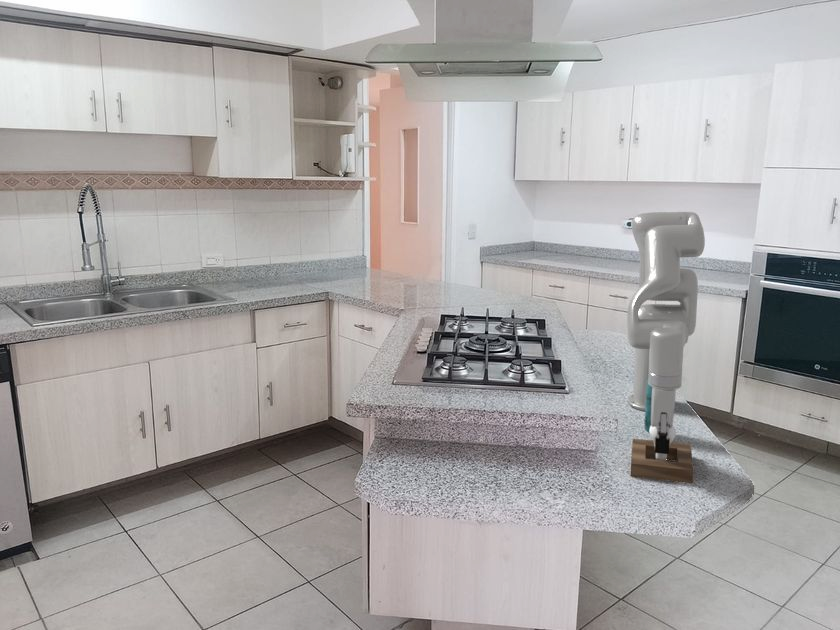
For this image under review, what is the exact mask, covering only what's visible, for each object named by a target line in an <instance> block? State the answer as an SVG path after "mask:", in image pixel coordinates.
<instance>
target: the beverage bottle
mask: <svg viewBox="0 0 840 630" xmlns="http://www.w3.org/2000/svg"><path fill="white" fill-rule="evenodd" d="M651 399H652V387H651V386H650V385H649V384H648V381H647V393H646V404H645V407H646V410H645V411H644V412H645V413H644V418H643V419H644V423H643V424H644V426H643V427H644V430H645V432H647V433H648V434H650V433H649V429H650V426H651Z"/></svg>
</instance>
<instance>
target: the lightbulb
mask: <svg viewBox="0 0 840 630" xmlns="http://www.w3.org/2000/svg"><path fill="white" fill-rule="evenodd" d="M667 425H668V423H667V424H666V426H667ZM659 426H661V423H659ZM659 431H661V428H659ZM666 432H667V429H666ZM648 434H649V436H650V439H651V440H653V442H654V445H655V437H657V426H656V427H655V426H654V427H652V426H650V429H649V433H648ZM676 434H677V430H676V428H675V426H674V424H673V425H672V428H669V438H670V442H669V446H670V444H671V443H672V442H673V441H674V439H675V438H676ZM666 459H667V454H662V453H656V459H655V460H662V461H667V460H666Z"/></svg>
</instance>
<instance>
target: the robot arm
mask: <svg viewBox="0 0 840 630" xmlns="http://www.w3.org/2000/svg"><path fill="white" fill-rule="evenodd" d="M631 228H632V235H633V237H634V241H635V244H636V245H637V248H638V252H639V274H638V275H639V278H638V282H639V283H638V285H639V286H638V289H636V291H635V292H634V293H633V295H632V297H631V299H630V301H629V304H628V306H627V312H626V313H627V315H626V316H627V317H626V318H627V320H626V321H627V323H626V335H627V341H628V343H629V346H630V347H632V348H634V362H633V363H634V365H633V366H634V369H633V370H634V371H633V394H632V395H630V396H628V400H627V404H628V405H629V404H630V405H631V406H630V405H629V406H630V407H632V408H633V409H636V410H639V411H643V412H645V410H646V407H645V404H646V393H647V381H648V384H649V385H650V386H651V387H652V399H651V426H652V427H654V426H655V427H656V426H657V437H655V452H656V453H662V454H669V442H670V438H669V428H672V425H673V426H674V424H673V423H674V417H675V410H676V409H675V407H676V395H677V393H676V392H677V390H678V389H681V387H682V383H683V382H682V380H683V364H684V363H683V361H684V347H685V346H686V344H687V343H688V341H689V337H691V336H692V335H693V334H694V333H695V330H696V327H697V310H698V293H699V290H698V289H699V287H698V285H699V282H698V277H697V274H696V272H695V271H694V270H692V269H690V268H683V267H682V268H681V261H680V258H699V257H700V256H701V255H702V254H703V252H704V250H705V244H706V243H705V241H706V239H705V233H704V227H703V225H702V221H701V219H700V217H699V215H698V214H697V212H694V211H676V212H675V211H671V212H670V211H668V212H665V211H663V212H662V211H660V212H658V211H657V212H656V211H655V212H645V213H640V214H637V215H635V216H634V217H633V218H632V222H631ZM647 301H656V302H679V304H665V303H648V304H647V303H646V304H644V303H645V302H647ZM659 423H661V426H659ZM667 423H668V425H667V426H666V424H667ZM659 428H661V431H659ZM666 429H667V432H666Z"/></svg>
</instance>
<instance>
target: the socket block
mask: <svg viewBox="0 0 840 630" xmlns="http://www.w3.org/2000/svg"><path fill="white" fill-rule="evenodd" d="M631 443H632V444H631V445H632V446H631V458H630V477H632V478H641V479H650V480H660V481H666V480H669V481H668V482H675V481H677V483H683V482H685V484H692V483H694V463H693V455H692V445H691V443H684V442H673V441H672V443H671V444H670V446H669V454H667V460H665V461H662V460H657V459H656V452H655V445H654V442H653V440H652V439H651V440H650V439H644V438H643V439H642V438H632V442H631ZM672 460H675V461H672Z"/></svg>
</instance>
